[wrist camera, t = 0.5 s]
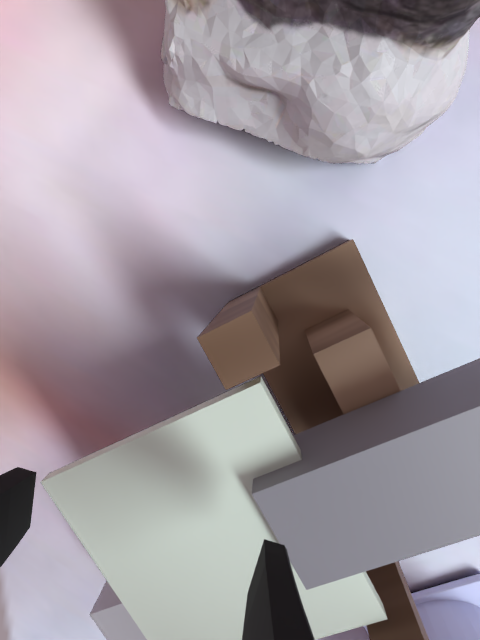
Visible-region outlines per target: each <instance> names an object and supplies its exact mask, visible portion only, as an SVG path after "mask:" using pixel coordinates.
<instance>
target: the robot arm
mask: <svg viewBox="0 0 480 640" xmlns="http://www.w3.org/2000/svg"><path fill="white" fill-rule="evenodd" d="M35 479H36V472H33V471H29V470H26V469H23V468H19V467H17V468H15V469H13V470H11V471H8V472H6V473H4V474H2V475H0V567H1V566H2V565H3V563H4V562H5V561H6V559H7V558H8V557H9V555H10V554H11V553H12V551H13V550H14V549H15V547H16V546H17V545H18V543H19V542H20V540H21V539H22V538H23V536H24V535H25V533H26V532H27V530H28V529H29V528H30V523H31V514H32V506H33V497H34V488H35ZM411 595H412V597H413V600H414V602H415V605H416V607H417V610H418V612H419V615H420V618H421V620H422V623H423V625H424V628H425V630H426V633H427V635H428V638H429V640H480V574H476V575H472V576H469V577H465V578H462V579H459V580H455V581H452V582H448V583H445V584H442V585H438V586H435V587H431V588H428V589H425V590H421V591H418V592H415V593H411ZM364 628H365V630H366V632H367V633H368V630H367V626H364ZM368 635H369V634H368ZM242 640H315V639H314V636H313V633H312V630H311V627H310V625H309V622H308V619H307V616H306V613H305V610H304V607H303V604H302V601H301V598H300V595H299V592H298V588H297V585H296V582H295V578H294V575H293V571H292V568H291V564H290V560H289V556H288V552H287V549H286V547H285V545H282V544H279V543H276V542H272V541H269V540H265V539H264V541H263V545H262V548H261V551H260V554H259V557H258V561H257V564H256V567H255V570H254V574H253V577H252V580H251V583H250V587H249V590H248V594H247V602H246V610H245V618H244V626H243V635H242Z"/></svg>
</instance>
